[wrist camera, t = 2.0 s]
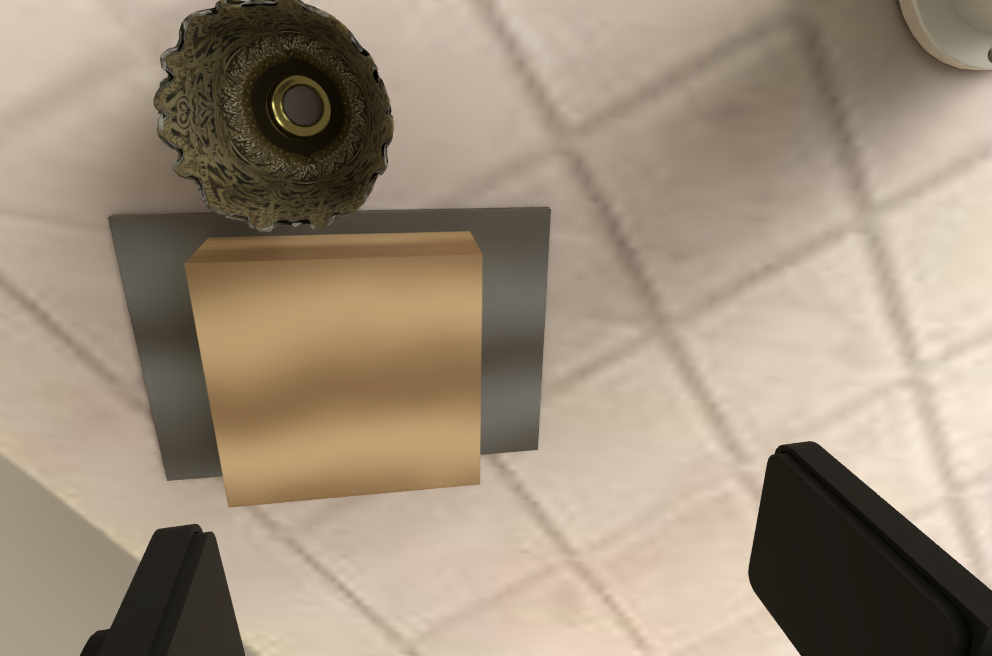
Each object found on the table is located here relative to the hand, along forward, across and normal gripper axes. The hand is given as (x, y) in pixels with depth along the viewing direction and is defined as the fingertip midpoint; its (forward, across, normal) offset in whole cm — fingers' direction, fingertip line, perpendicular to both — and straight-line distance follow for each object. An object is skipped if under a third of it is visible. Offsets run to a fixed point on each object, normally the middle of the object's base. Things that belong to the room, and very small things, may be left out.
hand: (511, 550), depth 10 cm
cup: (+22, +5, -6) cm, 24 cm away
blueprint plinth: (+22, +4, +6) cm, 23 cm away
